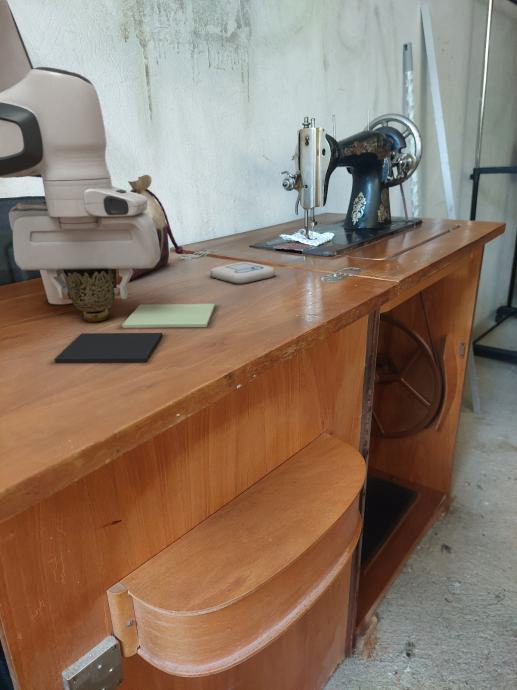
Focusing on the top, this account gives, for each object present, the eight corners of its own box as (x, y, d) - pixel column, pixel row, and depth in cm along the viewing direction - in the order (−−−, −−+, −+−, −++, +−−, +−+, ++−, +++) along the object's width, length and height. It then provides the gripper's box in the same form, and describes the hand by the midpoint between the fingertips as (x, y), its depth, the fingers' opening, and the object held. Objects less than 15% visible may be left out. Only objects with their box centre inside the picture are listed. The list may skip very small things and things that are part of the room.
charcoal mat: (55, 362, 62) (54, 358, 61) (82, 336, 70) (81, 333, 70) (146, 362, 61) (145, 358, 61) (162, 336, 69) (162, 332, 69)
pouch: (132, 288, 94) (120, 178, 87) (94, 286, 96) (79, 178, 89) (191, 260, 116) (185, 171, 109) (158, 259, 118) (150, 171, 111)
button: (279, 267, 99) (238, 276, 93) (279, 276, 100) (239, 285, 94) (245, 260, 106) (206, 268, 100) (245, 268, 107) (206, 276, 101)
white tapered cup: (42, 297, 89) (35, 257, 86) (83, 292, 92) (77, 253, 89) (47, 307, 83) (39, 264, 81) (90, 301, 86) (84, 259, 84)
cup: (63, 319, 77) (54, 266, 75) (109, 309, 82) (102, 258, 79) (82, 331, 72) (74, 274, 69) (131, 319, 76) (124, 266, 74)
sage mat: (122, 328, 73) (121, 324, 73) (140, 307, 82) (139, 304, 82) (206, 327, 72) (206, 323, 72) (215, 306, 82) (215, 303, 82)
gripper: (-6, 205, 68) (14, 305, 73) (147, 201, 67) (157, 303, 72) (17, 200, 74) (34, 293, 79) (158, 197, 73) (166, 291, 78)
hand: (94, 298), depth 76 cm, fingers closed on cup, 7 cm apart
